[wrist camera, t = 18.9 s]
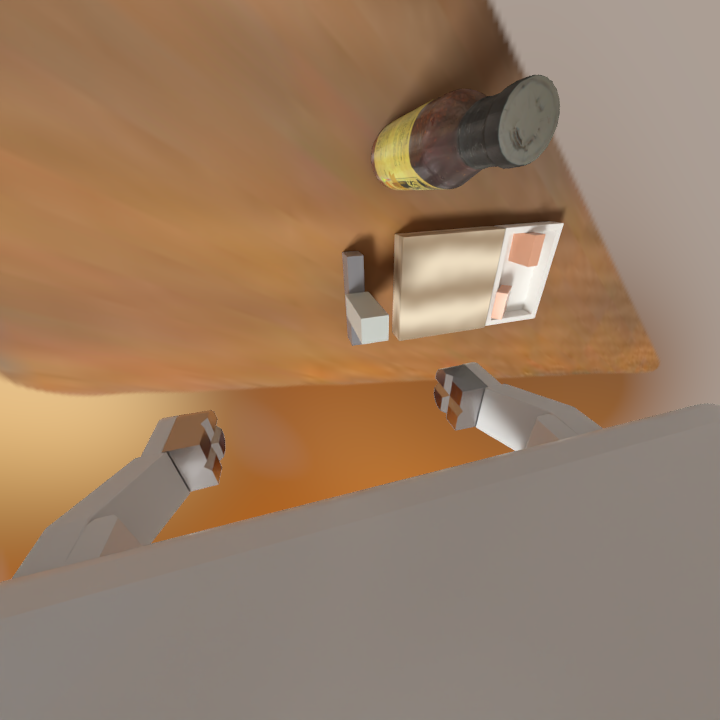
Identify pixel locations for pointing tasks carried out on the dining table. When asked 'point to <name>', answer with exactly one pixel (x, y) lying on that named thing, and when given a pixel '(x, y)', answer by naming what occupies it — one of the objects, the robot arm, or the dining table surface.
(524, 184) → the dining table surface
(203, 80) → the dining table surface
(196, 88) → the dining table surface
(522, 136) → the sauce bottle
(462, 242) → the birch board
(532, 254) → the tile
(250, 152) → the dining table surface
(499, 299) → the tile
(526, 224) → the tray
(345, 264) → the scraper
